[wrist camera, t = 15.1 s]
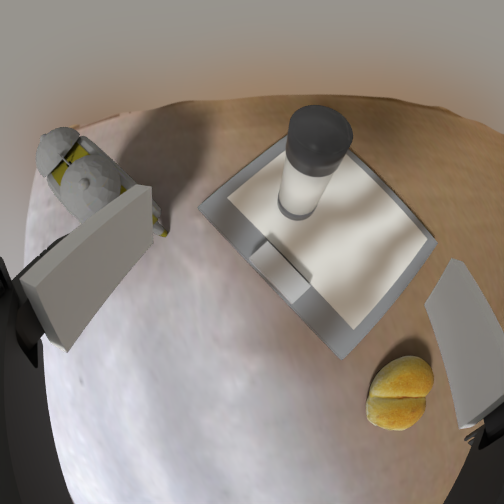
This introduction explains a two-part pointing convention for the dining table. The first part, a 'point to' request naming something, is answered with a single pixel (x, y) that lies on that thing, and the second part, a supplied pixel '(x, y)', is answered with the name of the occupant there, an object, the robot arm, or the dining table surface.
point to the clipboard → (324, 244)
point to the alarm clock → (83, 175)
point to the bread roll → (399, 393)
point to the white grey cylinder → (311, 158)
